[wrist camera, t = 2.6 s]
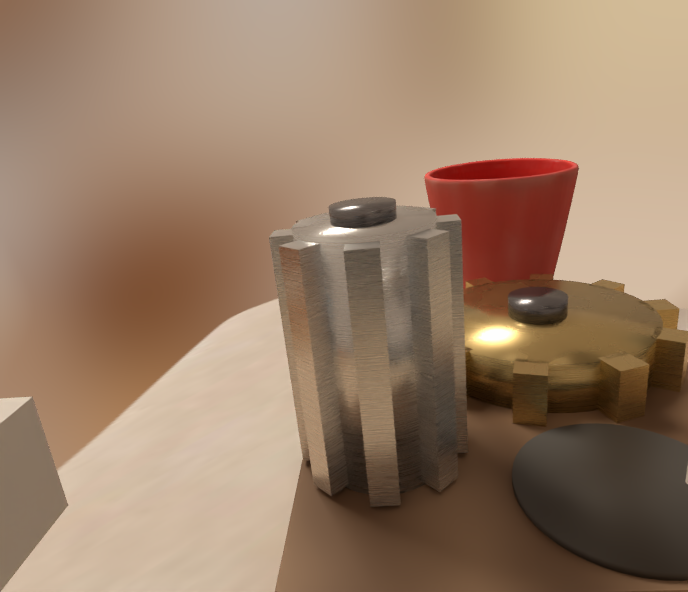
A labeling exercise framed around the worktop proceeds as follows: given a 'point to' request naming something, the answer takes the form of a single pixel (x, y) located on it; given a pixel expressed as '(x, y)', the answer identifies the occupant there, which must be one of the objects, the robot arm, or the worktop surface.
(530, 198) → the flower pot
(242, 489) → the worktop surface
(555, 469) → the gear board
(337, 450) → the grey pinion
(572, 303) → the brass gear
